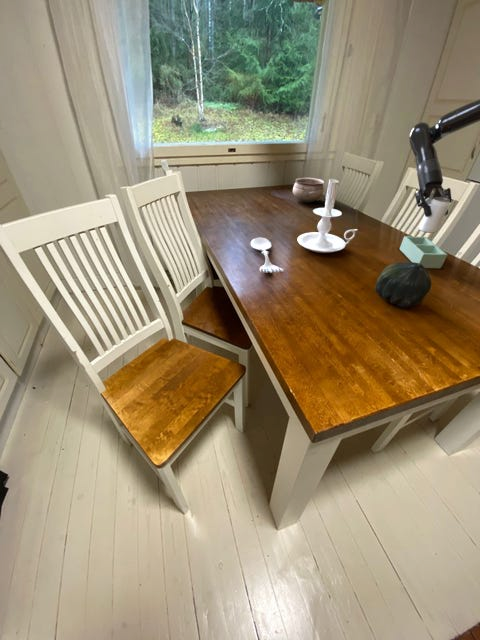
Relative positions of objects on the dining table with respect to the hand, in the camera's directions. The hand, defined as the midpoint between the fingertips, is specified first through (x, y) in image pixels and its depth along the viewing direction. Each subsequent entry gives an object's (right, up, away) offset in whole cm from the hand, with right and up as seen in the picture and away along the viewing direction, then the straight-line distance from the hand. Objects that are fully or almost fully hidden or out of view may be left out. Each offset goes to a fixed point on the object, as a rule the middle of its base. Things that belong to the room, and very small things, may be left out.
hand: (436, 215), depth 105 cm
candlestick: (-38, -8, +16) cm, 43 cm away
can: (0, -4, +5) cm, 7 cm away
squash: (-24, -34, -15) cm, 44 cm away
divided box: (-1, -14, +9) cm, 17 cm away
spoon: (-66, -15, +7) cm, 68 cm away
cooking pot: (-33, +36, +71) cm, 86 cm away
